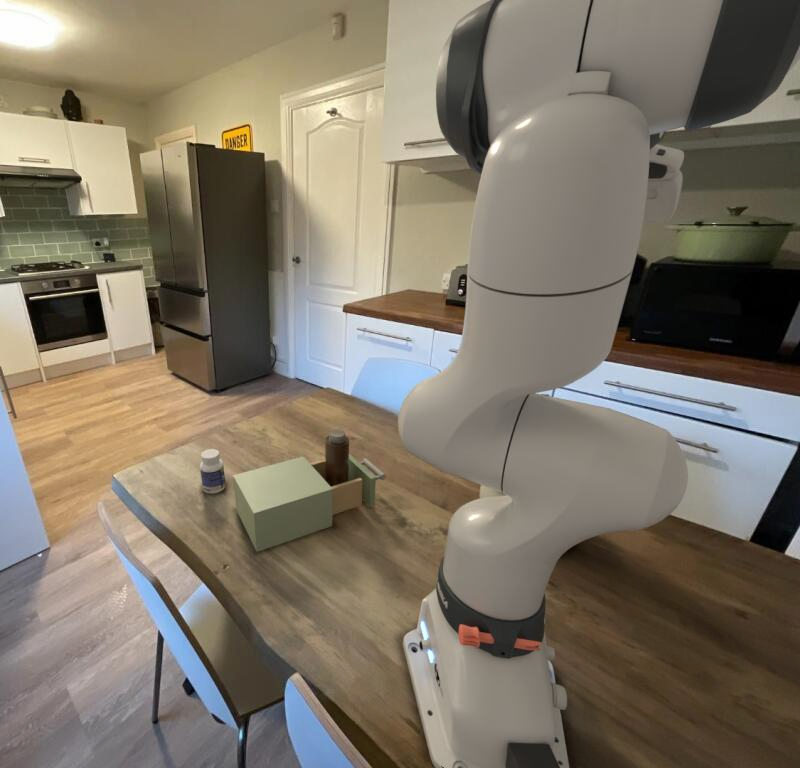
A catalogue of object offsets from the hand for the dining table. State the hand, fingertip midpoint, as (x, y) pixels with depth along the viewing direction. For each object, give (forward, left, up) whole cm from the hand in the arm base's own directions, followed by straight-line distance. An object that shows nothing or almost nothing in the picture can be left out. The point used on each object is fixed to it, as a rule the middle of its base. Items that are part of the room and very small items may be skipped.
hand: (592, 240), depth 76 cm
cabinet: (-27, +56, -51) cm, 80 cm away
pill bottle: (-20, +74, -51) cm, 92 cm away
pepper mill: (-20, +46, -48) cm, 69 cm away
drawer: (-20, +45, -50) cm, 70 cm away
